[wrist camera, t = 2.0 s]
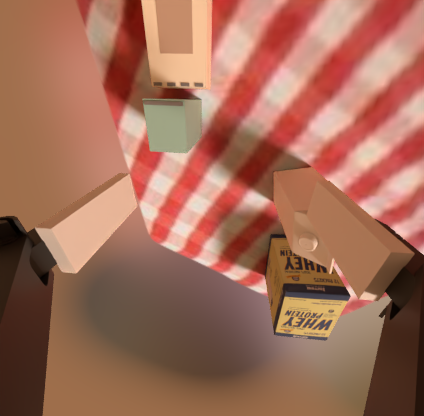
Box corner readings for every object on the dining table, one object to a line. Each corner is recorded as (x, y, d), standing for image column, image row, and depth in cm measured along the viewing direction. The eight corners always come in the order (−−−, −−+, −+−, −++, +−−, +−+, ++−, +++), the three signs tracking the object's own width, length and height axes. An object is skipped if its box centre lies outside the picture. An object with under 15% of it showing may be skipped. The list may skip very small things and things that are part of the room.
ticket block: (153, -19, 24) (135, -45, 20) (212, -20, 24) (207, -48, 19) (163, 88, 31) (151, 86, 26) (210, 89, 30) (206, 87, 26)
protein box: (316, 234, 42) (352, 295, 29) (302, 278, 50) (326, 342, 37) (270, 233, 44) (284, 291, 30) (264, 276, 52) (273, 337, 38)
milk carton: (312, 166, 34) (379, 225, 18) (308, 199, 38) (362, 273, 22) (273, 171, 36) (304, 230, 20) (273, 202, 39) (299, 274, 23)
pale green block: (172, 98, 31) (141, 98, 21) (201, 99, 31) (184, 100, 21) (175, 135, 34) (149, 151, 24) (201, 136, 34) (186, 153, 24)
